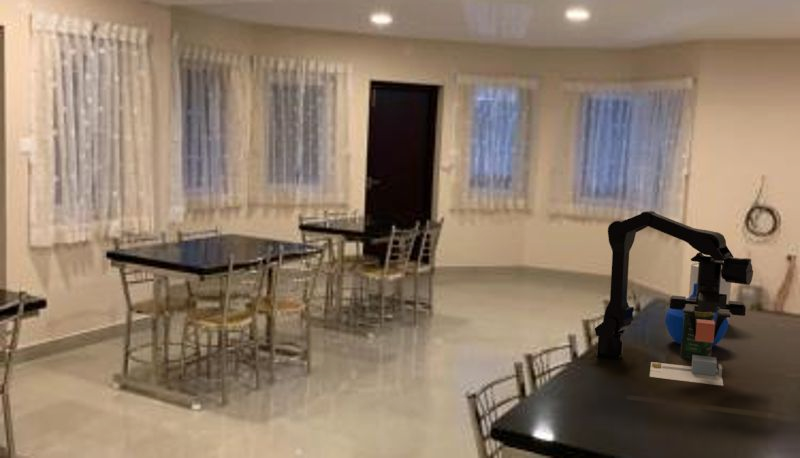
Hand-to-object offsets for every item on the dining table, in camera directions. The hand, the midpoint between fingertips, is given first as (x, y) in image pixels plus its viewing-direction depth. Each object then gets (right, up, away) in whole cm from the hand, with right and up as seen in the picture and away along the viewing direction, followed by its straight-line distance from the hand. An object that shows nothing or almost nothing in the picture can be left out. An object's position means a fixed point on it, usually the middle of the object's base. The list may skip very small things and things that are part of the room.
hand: (704, 336), depth 212 cm
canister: (+27, -4, +67) cm, 72 cm away
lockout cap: (0, -1, 0) cm, 1 cm away
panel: (-5, -11, -1) cm, 12 cm away
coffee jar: (+4, -9, +17) cm, 20 cm away
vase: (+10, -7, +34) cm, 36 cm away
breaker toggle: (0, -9, +1) cm, 10 cm away
